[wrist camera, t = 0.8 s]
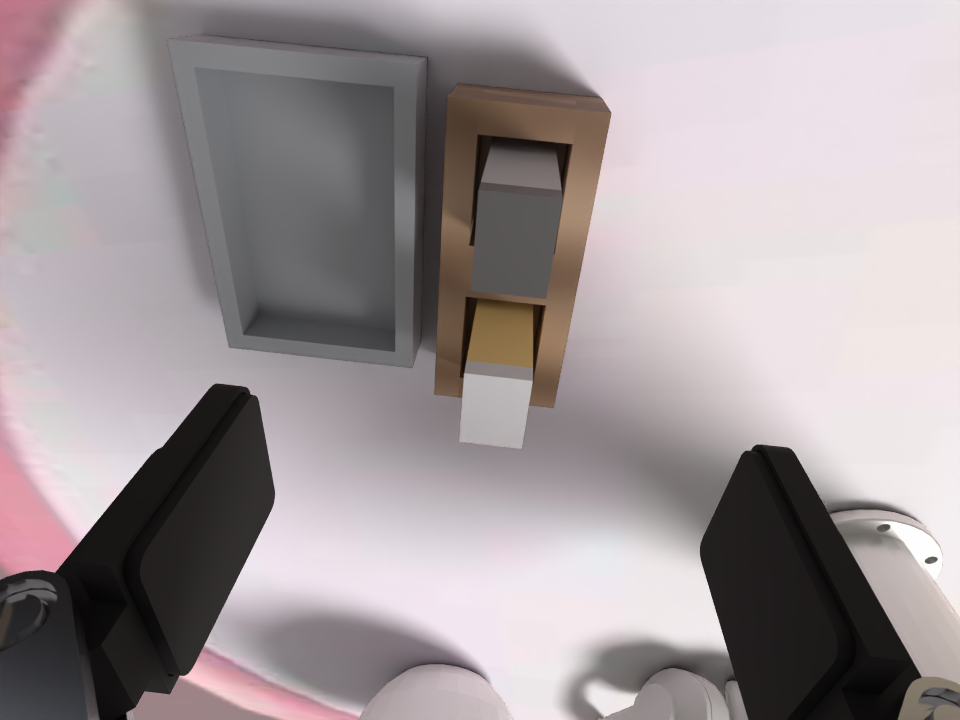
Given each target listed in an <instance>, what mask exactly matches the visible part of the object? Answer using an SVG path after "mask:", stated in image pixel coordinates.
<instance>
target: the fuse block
mask: <svg viewBox="0 0 960 720" xmlns="http://www.w3.org/2000/svg"><path fill="white" fill-rule="evenodd" d="M610 118H611V111H610V110H609V108H608V107H607V105H606V104H605V102H604V100H603V99H602V98H598V97H588V96H578V95H568V94H558V93H548V92H539V91H529V90H519V89H509V88H499V87H489V86H479V85H469V84H459V83H458V84H457V85H456V86H455V88H454V89H453V90H452V91H451V92H450V94H449V95H448V96H447V113H446V136H445V160H444V183H443V206H442V229H441V252H440V275H439V298H438V322H437V345H436V368H435V391H434V395H443V396H452V397H460V398H462V395H463V383H464V372H465V366H466V361H467V355H468V350H469V344H470V339H471V333H472V328H473V322H474V317H475V311H476V306H477V300H478V298H483V299H492V300H501V301H510V302H519V303H529V304H533V383H532V389H531V396H530V402H529V405H531V406H540V407H549V408H554V403H555V398H556V393H557V388H558V383H559V378H560V373H561V368H562V363H563V358H564V352H565V347H566V342H567V337H568V332H569V327H570V322H571V317H572V312H573V307H574V301H575V296H576V291H577V286H578V281H579V276H580V271H581V266H582V261H583V256H584V250H585V245H586V240H587V235H588V230H589V225H590V220H591V215H592V210H593V205H594V199H595V194H596V189H597V184H598V179H599V174H600V169H601V164H602V159H603V154H604V148H605V143H606V138H607V133H608V128H609V123H610ZM493 136H498V137H508V138H518V139H528V140H538V141H547V142H555V146H556V154H557V161H558V168H559V175H560V182H561V190H562V197H563V200H562V206H561V213H560V219H559V225H558V231H557V237H556V243H555V249H554V255H553V261H552V267H551V274H550V280H549V286H548V292H547V298H546V299H541V298H532V297H523V296H514V295H505V294H495V293H486V292H477V291H471V281H472V268H473V255H474V243H475V230H476V217H477V204H478V192H479V187H480V183H481V180H482V176H483V172H484V169H485V165H486V162H487V158H488V154H489V151H490V147H491V143H492V140H493Z"/></svg>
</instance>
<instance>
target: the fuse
mask: <svg viewBox="0 0 960 720" xmlns="http://www.w3.org/2000/svg"><path fill="white" fill-rule="evenodd" d="M532 383H533V304H529V303H519V302H510V301H501V300H492V299H483V298H478V300H477V306H476V311H475V317H474V322H473V328H472V333H471V339H470V344H469V350H468V355H467V361H466V366H465V372H464V383H463V395H462V408H461V421H460V434H459V442H464V443H473V444H482V445H491V446H499V447H508V448H517V449H522V444H523V438H524V432H525V426H526V420H527V414H528V408H529V402H530V396H531V389H532Z"/></svg>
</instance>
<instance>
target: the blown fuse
mask: <svg viewBox="0 0 960 720" xmlns="http://www.w3.org/2000/svg"><path fill="white" fill-rule="evenodd" d="M562 200H563V197H562V190H561V182H560V175H559V168H558V161H557V154H556V146H555V142H547V141H538V140H528V139H518V138H508V137H498V136H493V140H492V143H491V147H490V151H489V154H488V158H487V162H486V165H485V169H484V172H483V176H482V180H481V183H480V187H479V192H478V204H477V217H476V230H475V243H474V255H473V268H472V281H471V291H477V292H486V293H495V294H505V295H514V296H523V297H532V298H541V299H546V298H547V292H548V286H549V280H550V274H551V267H552V261H553V255H554V249H555V243H556V237H557V231H558V225H559V219H560V213H561V206H562Z"/></svg>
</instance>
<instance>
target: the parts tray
mask: <svg viewBox="0 0 960 720" xmlns="http://www.w3.org/2000/svg"><path fill="white" fill-rule="evenodd" d="M167 43H168V48H169V53H170V58H171V63H172V68H173V73H174V78H175V83H176V88H177V93H178V98H179V103H180V108H181V113H182V118H183V123H184V127H185V132H186V137H187V142H188V147H189V152H190V157H191V162H192V167H193V172H194V177H195V182H196V187H197V192H198V197H199V202H200V207H201V211H202V216H203V221H204V226H205V231H206V236H207V241H208V246H209V251H210V256H211V261H212V266H213V271H214V276H215V281H216V286H217V291H218V295H219V300H220V305H221V310H222V315H223V320H224V325H225V330H226V335H227V340H228V345H229V348H238V349H247V350H255V351H264V352H273V353H282V354H291V355H300V356H309V357H318V358H327V359H336V360H345V361H354V362H362V363H371V364H380V365H389V366H398V367H407V368H412V367H413V364H414V361H415V358H416V355H417V352H418V349H419V346H420V342H421V313H422V272H423V231H424V191H425V150H426V109H427V68H428V57H422V56H412V55H402V54H392V53H382V52H371V51H361V50H351V49H341V48H331V47H321V46H311V45H301V44H291V43H281V42H271V41H261V40H251V39H241V38H231V37H221V36H211V35H193V36H186V37H178V38H171V39H167Z"/></svg>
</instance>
